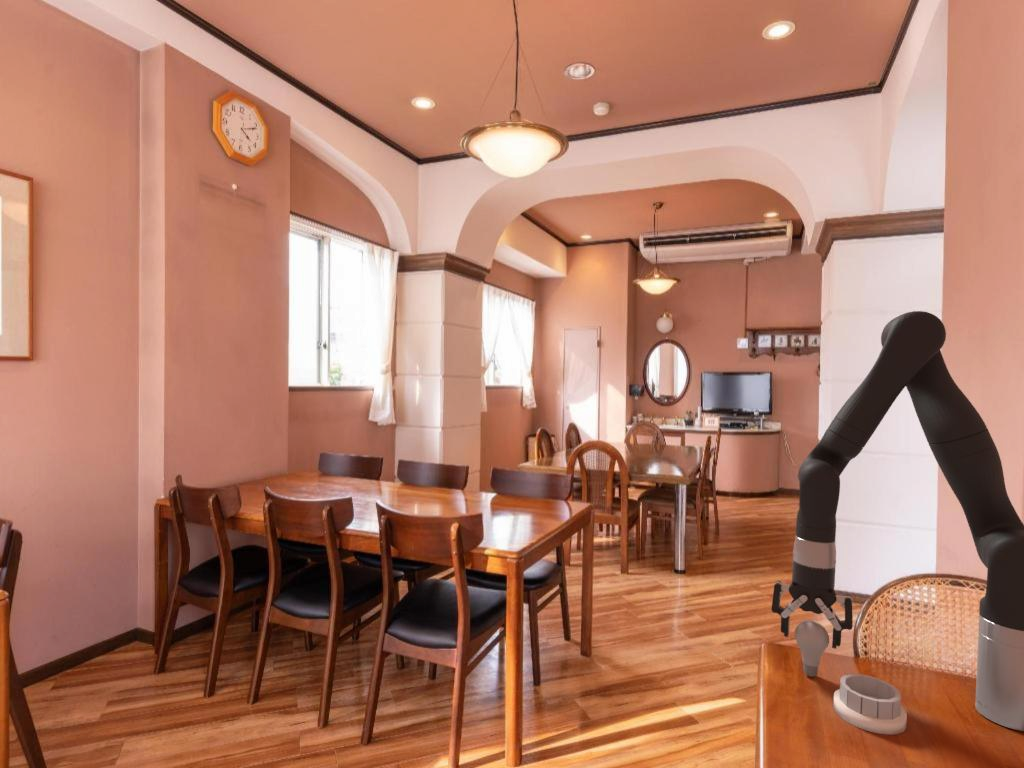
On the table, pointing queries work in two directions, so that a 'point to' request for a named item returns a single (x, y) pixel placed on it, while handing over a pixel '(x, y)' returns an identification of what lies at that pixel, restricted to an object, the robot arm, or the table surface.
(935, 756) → the table surface
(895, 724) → the lamp base
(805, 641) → the lightbulb
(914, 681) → the table surface
